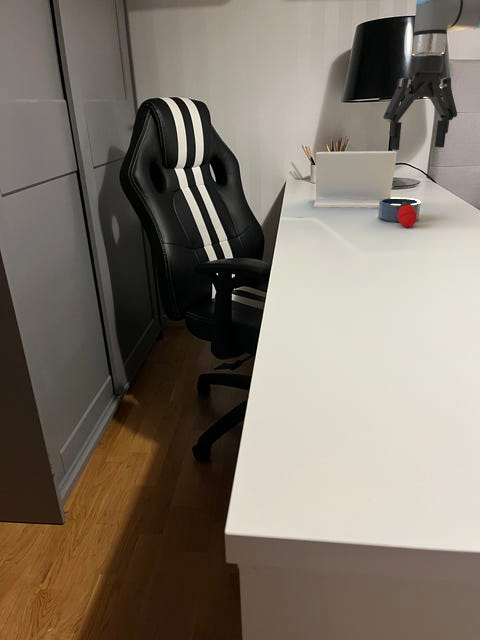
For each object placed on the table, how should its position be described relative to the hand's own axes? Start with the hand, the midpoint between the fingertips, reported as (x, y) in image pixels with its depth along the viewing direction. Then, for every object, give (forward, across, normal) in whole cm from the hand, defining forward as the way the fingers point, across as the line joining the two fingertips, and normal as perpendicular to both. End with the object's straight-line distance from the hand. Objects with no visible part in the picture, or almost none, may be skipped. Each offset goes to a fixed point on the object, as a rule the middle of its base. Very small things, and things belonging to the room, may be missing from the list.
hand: (417, 148), depth 129 cm
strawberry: (+19, +2, +3) cm, 20 cm away
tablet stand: (+20, -3, -36) cm, 41 cm away
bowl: (+20, -2, -8) cm, 22 cm away
